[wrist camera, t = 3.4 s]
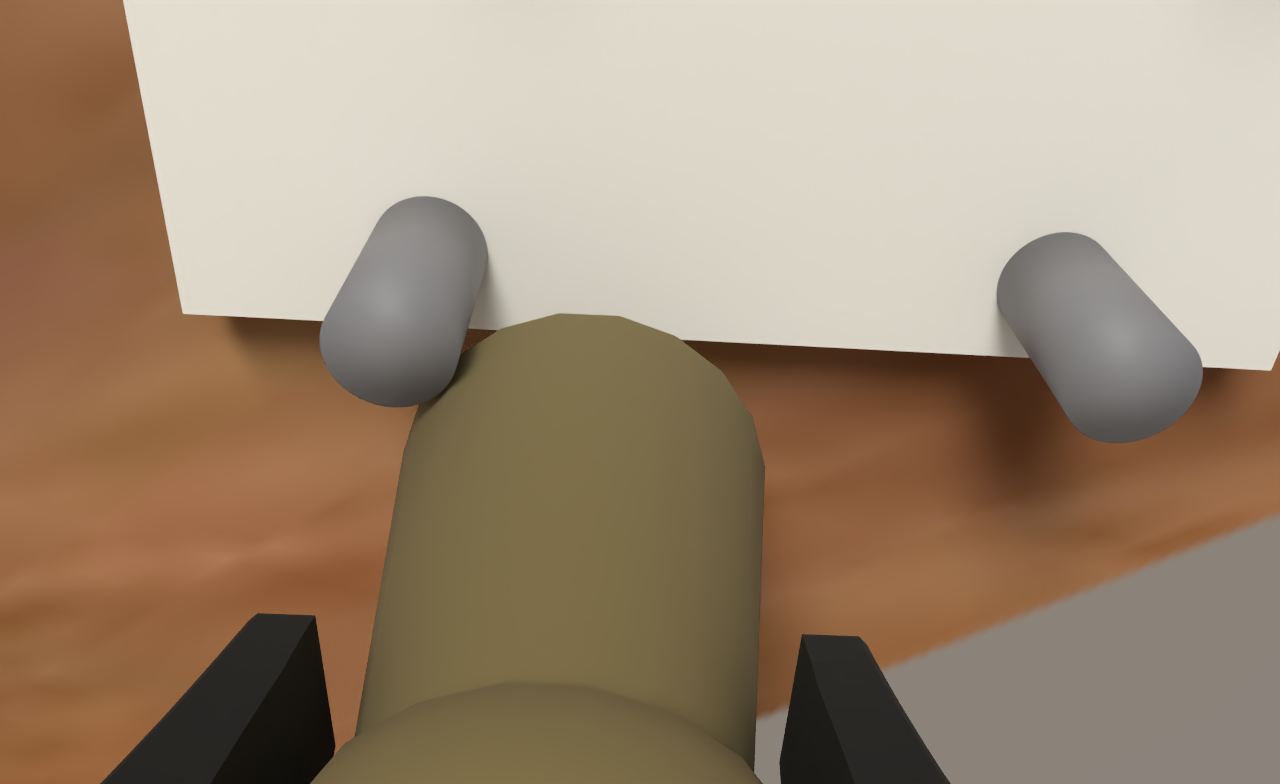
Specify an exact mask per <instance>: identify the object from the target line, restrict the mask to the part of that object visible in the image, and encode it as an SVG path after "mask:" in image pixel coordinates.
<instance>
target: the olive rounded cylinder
mask: <svg viewBox="0 0 1280 784" xmlns="http://www.w3.org/2000/svg"><path fill="white" fill-rule="evenodd" d="M764 480H765V465H764V461H763V457H762V453H761V449H760V445H759V441H758V437H757V433H756V430H755V426H754V422H753V418H752V415H751V414H750V412H749V411H748V409H747V408H746V407H745V405H744V404H743V402H742V401H741V399H740V398H739V396H738V395H737V393H736V392H735V390H734V389H733V387H732V386H731V384H730V383H729V381H728V380H727V378H726V377H725V375H724V374H723V372H722V371H721V370H720V369H718V368H717V367H716V366H714V365H713V364H712V363H710V362H709V361H708V360H706V359H705V358H704V357H703V356H701V355H700V354H699V353H697V352H696V351H695V350H693V349H692V348H691V347H689V346H688V345H687V344H686V343H684V342H683V341H682V340H680V339H679V338H678V337H676V336H674V335H671V334H669V333H666V332H663V331H660V330H657V329H655V328H652V327H649V326H646V325H644V324H641V323H638V322H635V321H632V320H630V319H627V318H624V317H621V316H610V315H588V314H565V313H558V314H554V315H550V316H547V317H543V318H539V319H535V320H531V321H528V322H524V323H520V324H516V325H512V326H509V327H505V328H501V329H500V330H498V331H497V332H495V333H493V334H492V335H490V336H489V337H487V338H486V339H484V340H483V341H481V342H479V343H478V344H476V345H475V346H473V347H472V348H470V349H469V350H467V351H465V352H464V353H462V354H461V355H460V357H459V361H458V364H457V367H456V370H455V373H454V376H453V377H452V379H451V381H450V382H449V384H448V385H447V386H446V388H445V389H444V390H443V391H442V392H440V393H439V394H438V395H436V396H435V397H434V398H432V399H430V400H428V401H426V402H423V403H421V404H419V406H418V409H417V412H416V415H415V418H414V421H413V424H412V427H411V430H410V434H409V437H408V440H407V443H406V446H405V449H404V452H403V458H402V464H401V470H400V476H399V482H398V487H397V493H396V499H395V505H394V511H393V517H392V522H391V528H390V534H389V540H388V546H387V552H386V557H385V563H384V569H383V575H382V581H381V587H380V592H379V598H378V604H377V610H376V616H375V622H374V628H373V633H372V639H371V645H370V651H369V657H368V663H367V668H366V674H365V680H364V686H363V692H362V698H361V703H360V709H359V715H358V721H357V727H356V733H355V738H353V739H351V740H350V741H348V742H346V743H345V744H344V745H343V746H342V747H341V748H340V749H339V751H338V752H337V753H336V754H335V755H334V756H333V758H332V759H331V760H330V761H329V762H328V763H327V764H326V766H325V767H324V768H323V769H322V770H321V771H320V772H319V774H318V775H317V776H316V777H315V778H314V779H313V781H312V782H311V783H310V784H762V782H761V781H760V780H759V779H758V778H757V776H756V775H755V773H754V761H755V732H756V705H757V677H758V649H759V621H760V592H761V564H762V536H763V508H764Z"/></svg>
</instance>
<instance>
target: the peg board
mask: <svg viewBox="0 0 1280 784" xmlns="http://www.w3.org/2000/svg"><path fill="white" fill-rule="evenodd" d="M123 2H124V7H125V12H126V18H127V23H128V28H129V33H130V39H131V44H132V49H133V54H134V60H135V65H136V70H137V75H138V81H139V86H140V91H141V96H142V102H143V107H144V112H145V117H146V123H147V128H148V133H149V138H150V144H151V149H152V154H153V159H154V165H155V170H156V175H157V180H158V186H159V191H160V196H161V201H162V207H163V212H164V217H165V222H166V228H167V233H168V238H169V243H170V249H171V254H172V259H173V264H174V270H175V275H176V280H177V285H178V291H179V296H180V301H181V306H182V311H183V314H198V315H217V316H236V317H256V318H275V319H294V320H313V321H323V323H322V326H321V330H320V338H319V339H320V350H321V354H322V357H323V360H324V363H325V365H326V367H327V369H328V370H329V372H330V373H331V375H332V376H333V377H334V378H335V379H336V381H337V382H338V383H339V384H340V385H341V386H342V387H344V388H345V389H346V390H347V391H349V392H350V393H352V394H353V395H355V396H357V397H358V398H360V399H363V400H365V401H367V402H370V403H373V404H376V405H381V406H386V407H408V406H414V405H418V404H421V403H423V402H426V401H428V400H430V399H432V398H434V397H435V396H436V395H438V394H439V393H440V392H442V391H443V390H444V389H445V388H446V386H447V385H448V384H449V382H450V381H451V379H452V377H453V376H454V373H455V370H456V367H457V364H458V361H459V357H460V354H461V351H462V347H463V344H464V340H465V337H466V334H467V330H468V329H485V330H500V329H501V328H505V327H509V326H512V325H516V324H520V323H524V322H528V321H531V320H535V319H539V318H543V317H547V316H550V315H554V314H558V313H565V314H588V315H610V316H621V317H624V318H627V319H630V320H632V321H635V322H638V323H641V324H644V325H646V326H649V327H652V328H655V329H657V330H660V331H663V332H666V333H669V334H671V335H674V336H676V337H678V338H679V339H680V340H696V341H715V342H735V343H754V344H773V345H792V346H811V347H830V348H850V349H869V350H888V351H907V352H926V353H945V354H964V355H984V356H1003V357H1022V358H1030V359H1031V360H1032V362H1033V363H1034V365H1035V366H1036V368H1037V370H1038V371H1039V373H1040V374H1041V376H1042V377H1043V379H1044V380H1045V382H1046V384H1047V385H1048V387H1049V388H1050V390H1051V391H1052V393H1053V395H1054V396H1055V398H1056V399H1057V401H1058V402H1059V404H1060V406H1061V407H1062V409H1063V410H1064V412H1065V413H1066V415H1067V417H1068V418H1069V420H1070V421H1071V423H1072V424H1073V425H1074V426H1075V427H1076V429H1077V430H1079V431H1080V432H1081V433H1083V434H1084V435H1086V436H1088V437H1090V438H1092V439H1095V440H1098V441H1102V442H1108V443H1126V442H1133V441H1138V440H1141V439H1144V438H1148V437H1150V436H1152V435H1155V434H1157V433H1159V432H1161V431H1163V430H1164V429H1166V428H1167V427H1169V426H1170V425H1172V424H1173V423H1174V422H1176V421H1177V420H1178V419H1179V418H1180V417H1181V416H1182V415H1183V414H1184V413H1185V412H1186V411H1187V410H1188V409H1189V407H1190V406H1191V405H1192V403H1193V402H1194V400H1195V398H1196V396H1197V394H1198V392H1199V390H1200V386H1201V383H1202V377H1203V367H1214V368H1233V369H1252V370H1271V369H1272V367H1273V364H1274V362H1275V360H1276V357H1277V355H1278V353H1279V351H1280V0H123Z"/></svg>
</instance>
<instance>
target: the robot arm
mask: <svg viewBox="0 0 1280 784" xmlns="http://www.w3.org/2000/svg"><path fill="white" fill-rule="evenodd" d="M334 751H335V740H334V733H333V727H332V721H331V714H330V708H329V701H328V695H327V689H326V682H325V676H324V669H323V663H322V657H321V650H320V644H319V637H318V631H317V624H316V618H315V616H312V615H286V614H260V613H258V614H256V615H255V616H254V617H253V618H251V619H250V620H249V621H248V622H247V623H246V624H245V626H244V627H243V628H242V629H241V630H240V631H239V632H238V634H237V635H236V636H235V637H234V638H233V639H232V640H231V642H230V643H229V644H228V645H227V646H226V647H225V649H224V650H223V651H222V652H221V653H220V654H219V655H218V657H217V658H216V659H215V660H214V661H213V662H212V663H211V665H210V666H209V667H208V668H207V669H206V670H205V671H204V673H203V674H202V675H201V676H200V677H199V678H198V679H197V680H196V682H195V683H194V684H193V685H192V686H191V687H190V688H189V689H188V691H187V692H186V693H185V694H184V695H183V696H182V697H181V698H180V699H179V701H178V702H177V703H176V704H175V705H174V706H173V707H172V708H171V709H170V711H169V712H168V713H167V714H166V715H165V716H164V717H163V718H162V719H161V720H160V722H159V723H158V724H157V725H156V726H155V727H154V728H153V729H152V730H151V731H150V732H149V733H148V734H147V735H146V736H145V737H144V738H143V740H142V741H141V742H140V743H139V744H138V745H137V746H136V747H135V748H134V749H133V750H132V751H131V752H130V753H129V754H128V755H127V756H126V758H125V759H124V760H123V761H122V762H121V763H120V764H119V765H118V766H117V767H116V768H115V769H114V770H113V771H112V772H111V773H110V774H109V775H108V776H107V778H106V779H105V780H104V781H103V782H102V783H101V784H310V783H311V782H312V781H313V779H314V778H315V777H316V776H317V775H318V774H319V772H320V771H321V770H322V769H323V768H324V767H325V766H326V764H327V763H328V762H329V761H330V760H331V759H332V758H333V755H334ZM780 776H781V784H950V782H949V781H948V779H947V778H946V776H945V775H944V773H943V772H942V770H941V769H940V767H939V766H938V764H937V763H936V761H935V760H934V758H933V756H932V755H931V753H930V752H929V750H928V749H927V747H926V745H925V744H924V742H923V741H922V739H921V737H920V736H919V734H918V732H917V731H916V729H915V728H914V726H913V724H912V723H911V721H910V720H909V718H908V716H907V715H906V713H905V711H904V710H903V708H902V706H901V704H900V703H899V701H898V699H897V698H896V696H895V694H894V693H893V691H892V689H891V687H890V686H889V684H888V682H887V681H886V679H885V677H884V675H883V673H882V671H881V670H880V668H879V666H878V664H877V663H876V661H875V659H874V657H873V655H872V653H871V651H870V650H869V648H868V646H867V645H866V643H865V642H864V641H863V640H862V639H861V638H860V637H858V636H832V635H806V634H802V638H801V643H800V649H799V655H798V660H797V666H796V672H795V677H794V683H793V689H792V694H791V700H790V706H789V711H788V717H787V723H786V728H785V734H784V740H783V745H782V751H781V757H780Z"/></svg>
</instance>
